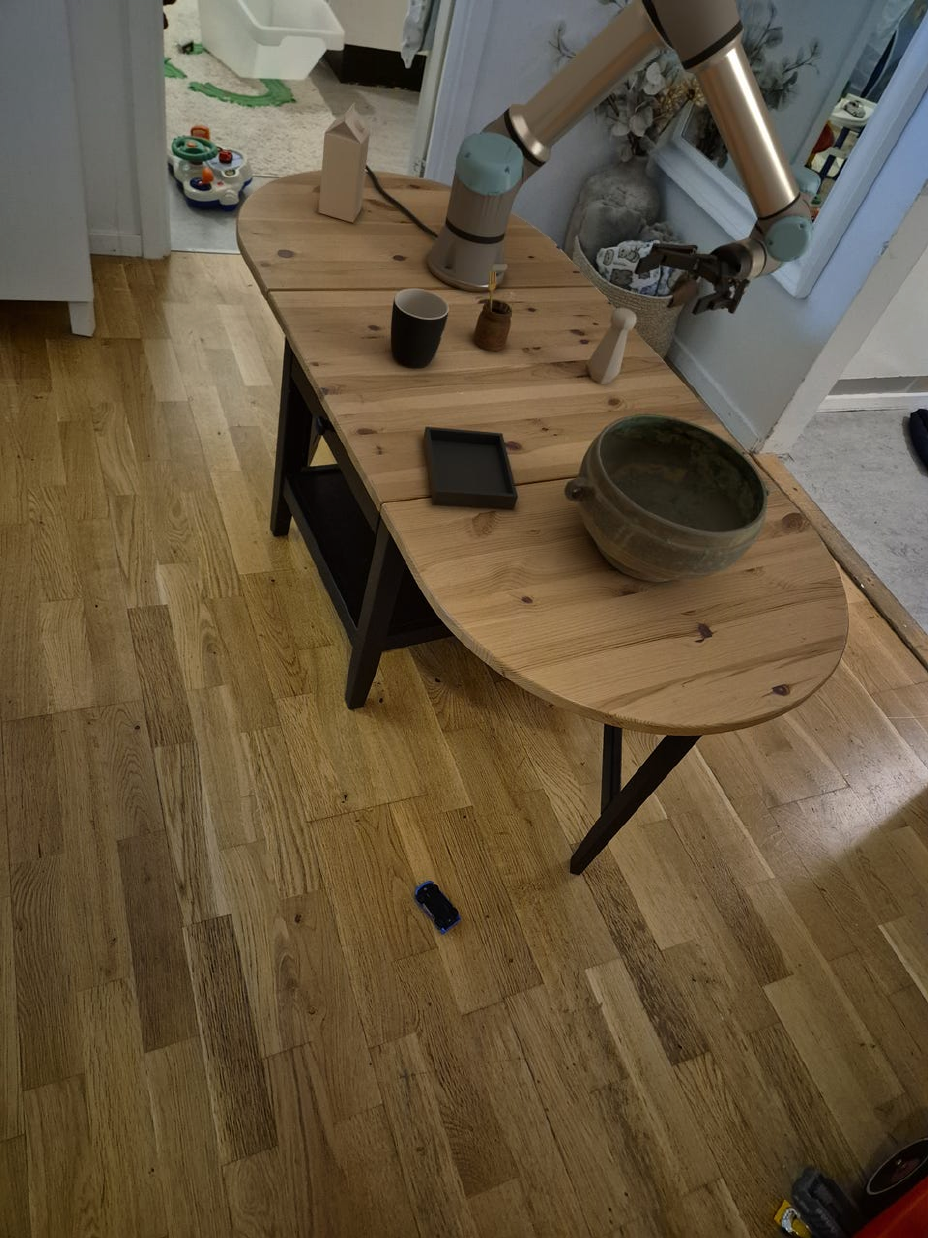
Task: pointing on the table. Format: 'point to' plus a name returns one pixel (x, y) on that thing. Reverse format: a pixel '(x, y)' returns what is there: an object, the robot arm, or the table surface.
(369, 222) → the table surface
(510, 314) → the utensil holder
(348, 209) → the milk carton
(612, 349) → the salt shaker
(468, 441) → the tray
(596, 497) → the bowl
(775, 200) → the robot arm
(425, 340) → the mug
